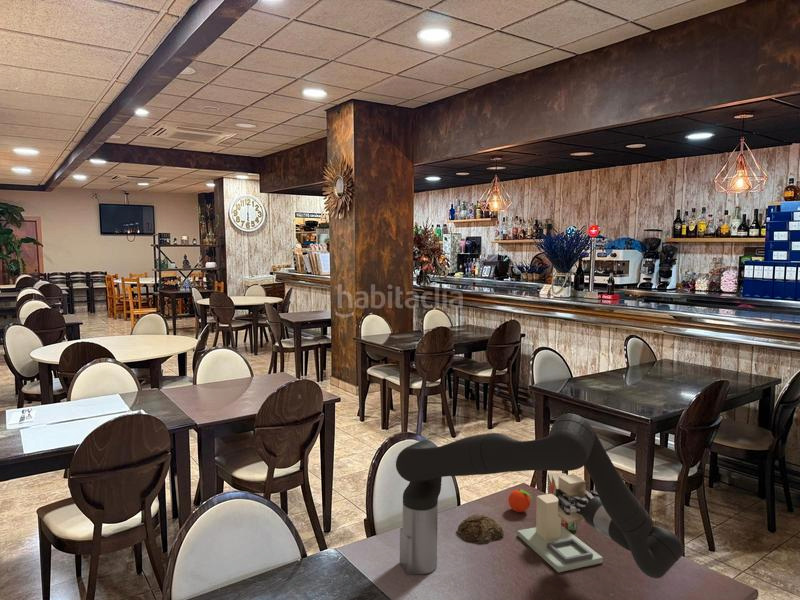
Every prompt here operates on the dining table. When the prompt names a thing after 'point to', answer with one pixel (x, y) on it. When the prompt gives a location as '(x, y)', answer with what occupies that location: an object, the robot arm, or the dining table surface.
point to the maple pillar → (571, 487)
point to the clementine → (519, 500)
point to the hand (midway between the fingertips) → (565, 490)
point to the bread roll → (480, 529)
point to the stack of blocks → (552, 486)
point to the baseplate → (557, 539)
